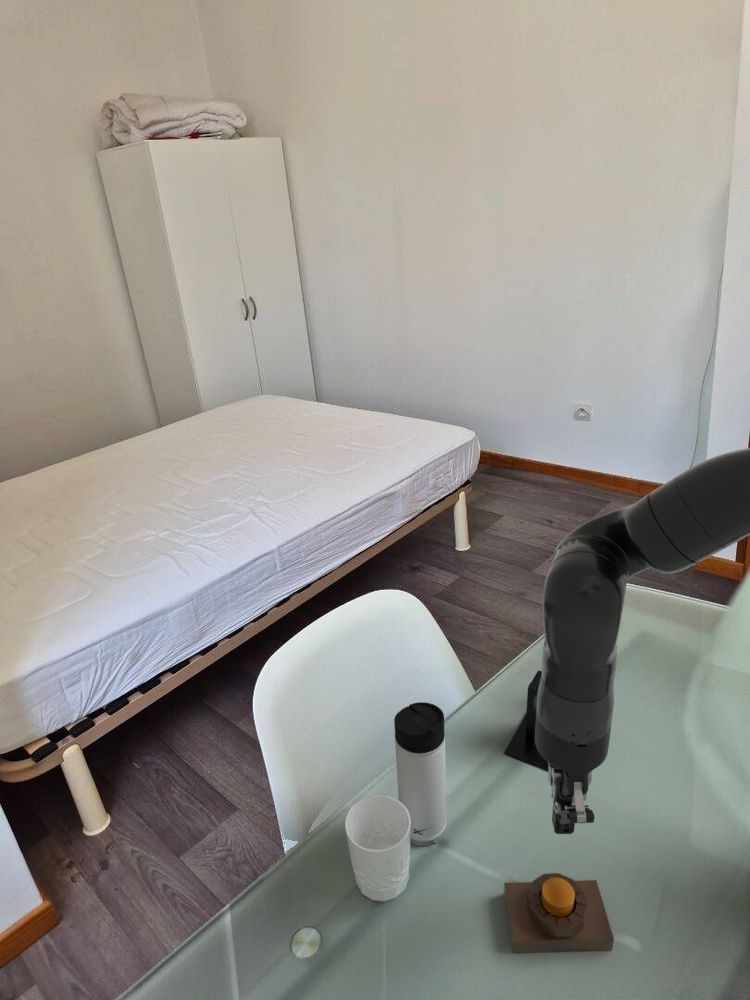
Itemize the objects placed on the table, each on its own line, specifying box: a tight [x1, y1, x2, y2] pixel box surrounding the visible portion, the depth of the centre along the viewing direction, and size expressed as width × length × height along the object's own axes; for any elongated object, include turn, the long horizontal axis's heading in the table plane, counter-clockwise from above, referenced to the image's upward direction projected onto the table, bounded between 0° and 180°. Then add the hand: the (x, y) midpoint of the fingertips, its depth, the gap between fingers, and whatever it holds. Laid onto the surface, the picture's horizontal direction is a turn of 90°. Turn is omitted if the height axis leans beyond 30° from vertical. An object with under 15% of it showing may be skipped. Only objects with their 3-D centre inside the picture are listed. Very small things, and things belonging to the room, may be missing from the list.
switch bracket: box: [503, 670, 548, 772], centre depth 102 cm, size 11×9×12 cm
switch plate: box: [503, 872, 615, 954], centre depth 79 cm, size 11×7×4 cm, turn 89°
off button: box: [541, 878, 575, 917], centre depth 78 cm, size 4×4×2 cm
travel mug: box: [393, 701, 448, 847], centre depth 88 cm, size 6×7×20 cm
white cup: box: [344, 794, 412, 903], centre depth 84 cm, size 8×8×10 cm
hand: (562, 828), depth 78 cm, fingers closed
